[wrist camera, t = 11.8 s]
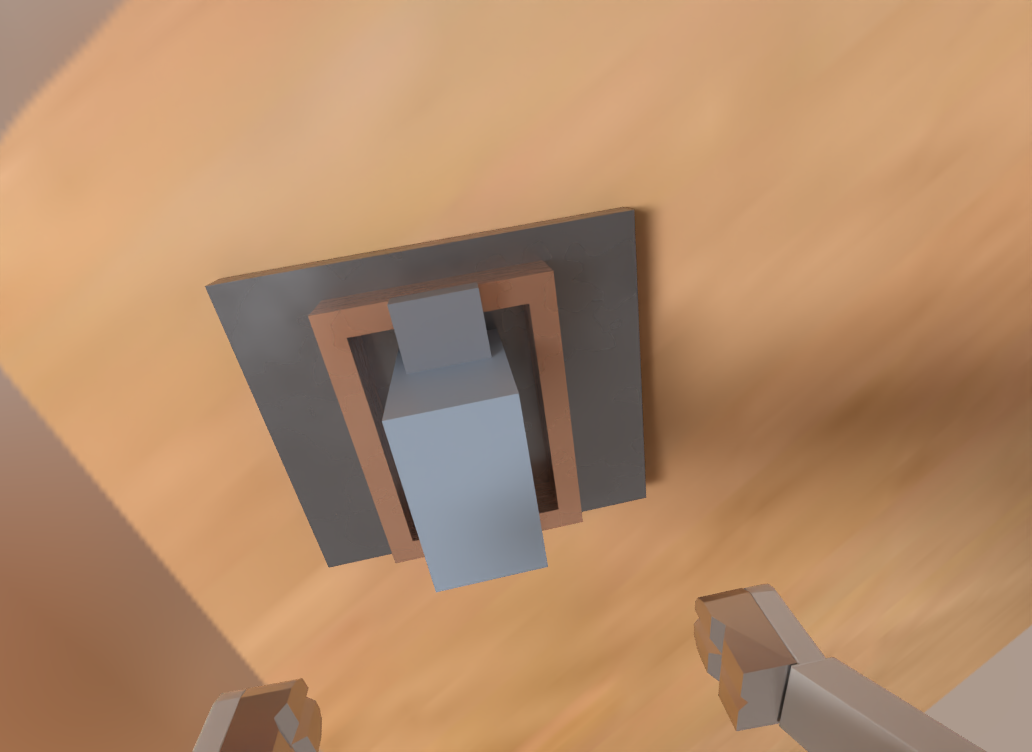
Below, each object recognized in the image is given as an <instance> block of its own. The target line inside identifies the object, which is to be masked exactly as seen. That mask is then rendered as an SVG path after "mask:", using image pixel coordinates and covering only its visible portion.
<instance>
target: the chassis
mask: <svg viewBox="0 0 1032 752" xmlns="http://www.w3.org/2000/svg"><path fill="white" fill-rule="evenodd" d="M475 282H477V284H478V288H479V293H480V298H481V303H482V309H483V314H484V319H485V324H486V330H491V329H496V328H497V330H498V333H499V336H500V339H501V342H502V345H503V348H504V351H505V354H506V357H507V360H508V363H509V366H510V369H511V372H512V375H513V378H514V381H515V384H516V387H517V390H518V393H519V398H520V404H521V410H522V416H523V422H524V428H525V433H526V439H527V445H528V451H529V457H530V463H531V469H532V475H533V481H534V487H535V493H536V499H537V505H538V511H539V516H540V522H541V528H542V531H543V530H548V529H552V528H557V527H561V526H566V525H570V524H575V523H579V522H583V519H582V512H583V511H587V510H592V509H596V508H601V507H606V506H610V505H615V504H619V503H624V502H628V501H633V500H637V499H642V498H646V484H645V459H644V435H643V411H642V386H641V362H640V338H639V314H638V289H637V265H636V241H635V216H634V210H633V209H629V208H625V207H621V208H615V209H610V210H604V211H598V212H593V213H587V214H581V215H576V216H570V217H565V218H559V219H553V220H548V221H542V222H536V223H531V224H525V225H520V226H514V227H508V228H503V229H497V230H491V231H486V232H480V233H475V234H469V235H463V236H458V237H452V238H446V239H441V240H435V241H430V242H424V243H418V244H413V245H407V246H401V247H396V248H390V249H385V250H379V251H373V252H368V253H362V254H356V255H351V256H345V257H340V258H334V259H328V260H323V261H317V262H311V263H306V264H300V265H295V266H289V267H283V268H278V269H272V270H266V271H261V272H255V273H250V274H244V275H238V276H233V277H227V278H222V279H218V280H216V281H214V282H212V283H211V284H209V285H207V286H205V287H206V289H207V292H208V294H209V296H210V299H211V301H212V303H213V305H214V308H215V310H216V312H217V314H218V317H219V319H220V321H221V324H222V326H223V328H224V330H225V333H226V335H227V337H228V339H229V342H230V344H231V346H232V349H233V351H234V353H235V355H236V358H237V360H238V362H239V364H240V367H241V369H242V371H243V374H244V376H245V378H246V380H247V383H248V385H249V387H250V389H251V392H252V394H253V396H254V399H255V401H256V403H257V405H258V408H259V410H260V412H261V414H262V417H263V419H264V421H265V424H266V426H267V428H268V430H269V433H270V435H271V437H272V439H273V442H274V444H275V446H276V449H277V451H278V453H279V455H280V458H281V460H282V462H283V464H284V467H285V469H286V471H287V474H288V476H289V478H290V480H291V483H292V485H293V487H294V489H295V492H296V494H297V496H298V499H299V501H300V503H301V505H302V508H303V510H304V512H305V514H306V517H307V519H308V521H309V524H310V526H311V528H312V530H313V533H314V535H315V537H316V539H317V542H318V544H319V546H320V549H321V551H322V553H323V555H324V558H325V560H326V562H327V565H328V567H334V566H338V565H343V564H347V563H352V562H356V561H361V560H365V559H370V558H374V557H379V556H383V555H388V554H393V557H394V560H395V563H399V562H403V561H408V560H412V559H417V558H421V557H425V555H424V552H423V549H422V546H421V543H420V540H419V537H418V533H417V530H416V527H415V524H414V521H413V518H412V515H411V511H410V508H409V505H408V502H407V499H406V496H405V493H404V489H403V486H402V483H401V480H400V477H399V474H398V471H397V467H396V464H395V461H394V458H393V455H392V452H391V449H390V445H389V442H388V439H387V436H386V433H385V430H384V426H383V423H382V418H383V414H384V410H385V405H386V401H387V397H388V392H389V388H390V383H391V379H392V375H393V370H394V366H395V362H396V357H397V353H398V349H399V346H398V342H397V338H396V335H395V331H394V328H393V324H392V320H391V317H390V313H389V310H388V306H387V304H388V301H389V299H390V298H395V297H400V296H405V295H411V294H416V293H421V292H427V291H432V290H438V289H443V288H448V287H454V286H459V285H464V284H470V283H475Z"/></svg>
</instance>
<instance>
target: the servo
mask: <svg viewBox="0 0 1032 752" xmlns="http://www.w3.org/2000/svg"><path fill="white" fill-rule="evenodd" d="M387 306H388V310H389V313H390V317H391V320H392V324H393V328H394V331H395V335H396V338H397V342H398V346H399V349H398V353H397V357H396V362H395V366H394V370H393V375H392V379H391V383H390V388H389V392H388V397H387V401H386V405H385V410H384V414H383V418H382V423H383V426H384V430H385V433H386V436H387V439H388V442H389V445H390V449H391V452H392V455H393V458H394V461H395V464H396V467H397V471H398V474H399V477H400V480H401V483H402V486H403V489H404V493H405V496H406V499H407V502H408V505H409V508H410V511H411V515H412V518H413V521H414V524H415V527H416V530H417V533H418V537H419V540H420V543H421V546H422V549H423V552H424V555H425V559H426V562H427V565H428V568H429V571H430V574H431V577H432V581H433V584H434V587H435V590H436V592H439V591H444V590H448V589H453V588H457V587H461V586H466V585H470V584H475V583H479V582H483V581H488V580H492V579H496V578H501V577H505V576H510V575H514V574H518V573H523V572H527V571H531V570H536V569H540V568H545V567H548V564H547V558H546V552H545V546H544V540H543V534H542V528H541V522H540V516H539V511H538V505H537V499H536V493H535V487H534V481H533V475H532V469H531V463H530V457H529V451H528V445H527V439H526V433H525V428H524V422H523V416H522V410H521V404H520V398H519V393H518V390H517V387H516V384H515V381H514V378H513V375H512V372H511V369H510V366H509V363H508V360H507V357H506V354H505V351H504V348H503V345H502V342H501V339H500V336H499V333H498V330H497V328H496V329H491V330H486V324H485V319H484V314H483V309H482V303H481V298H480V293H479V288H478V284H477V282H475V283H470V284H464V285H459V286H454V287H448V288H443V289H438V290H432V291H427V292H421V293H416V294H411V295H405V296H400V297H395V298H390V299H389V301H388V304H387Z"/></svg>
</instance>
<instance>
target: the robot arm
mask: <svg viewBox="0 0 1032 752" xmlns="http://www.w3.org/2000/svg"><path fill="white" fill-rule="evenodd" d="M695 611H696V613H697V615H698V617H699V618H698V620H697V621H696V622H695V623H694V637H695V641H696V646H697V650H698V652H699V655H700V658H701V660H702V662H703V664H704V666H705V669H706V671H707V673H709V674H710V675H711V676H713V677H714V678H715V679H717V680H718V681H719V694H718V696H719V698H720V700H721V702H722V704H723V706H724V708H725V710H726V712H727V714H728V716H729V718H730V720H731V722H732V724H733V726H734V728H735V730H736V731H740V730H745V729H751V728H756V727H762V726H767V725H773V724H778V723H780V724H779V726H780V727H781V728H782V729H783V730H784V731H785V732H786V733H788V734H789V735H790V736H791V737H792V738H793V739H794V740H796V741H797V742H798V743H799V744H800V745H801V746H802V747H804V748H805V749H806V750H807V751H808V752H986V751H985V750H983V749H981V748H980V747H978V746H976V745H975V744H973V743H972V742H970V741H968V740H967V739H965V738H964V737H962V736H960V735H959V734H957V733H955V732H954V731H952V730H951V729H949V728H947V727H946V726H944V725H943V724H941V723H939V722H938V721H936V720H934V719H933V718H931V717H930V716H928V715H926V714H925V713H923V712H922V711H920V710H918V709H917V708H915V707H913V706H912V705H910V704H909V703H907V702H905V701H904V700H902V699H901V698H899V697H897V696H896V695H894V694H892V693H891V692H889V691H888V690H886V689H884V688H883V687H881V686H879V685H878V684H876V683H875V682H873V681H871V680H870V679H868V678H867V677H865V676H863V675H862V674H860V673H858V672H857V671H855V670H854V669H852V668H850V667H849V666H847V665H845V664H844V663H842V662H841V661H839V660H837V659H836V658H834V657H830V658H825V656H824V655H823V654H822V652H821V651H820V650H819V648H818V647H817V646H816V644H815V643H814V641H813V640H812V639H811V637H810V636H809V635H808V633H807V632H806V631H805V629H804V628H803V627H802V625H801V624H800V623H799V621H798V620H797V618H796V617H795V616H794V614H793V613H792V612H791V610H790V609H789V608H788V606H787V605H786V604H785V602H784V601H783V600H782V598H781V597H780V596H779V594H778V593H777V591H776V590H775V589H774V588H773V587H772V586H770V585H769V584H761V585H757V586H752V587H748V588H739V589H735V590H730V591H726V592H721V593H717V594H712V595H708V596H703V597H698V598H697V600H696V601H695ZM307 691H308V686H307V685H306V683H305V682H304V680H303V678H300V679H295V680H290V681H285V682H279V683H274V684H269V685H264V686H258V687H254V688H246V689H241V690H236V691H232V692H226V693H222V694H221V695H220V696H219V697H218V699H217V700H216V701H215V702H214V704H213V706H212V708H211V710H210V712H209V715H208V717H207V719H206V722H205V724H204V726H203V729H202V731H201V733H200V736H199V738H198V740H197V743H196V745H195V747H194V749H193V752H318V751H319V746H320V741H321V732H322V717H321V713H320V708H319V706H318V704H317V702H316V701H315V700H313V699H310V698H308V697H306V695H307Z"/></svg>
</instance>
